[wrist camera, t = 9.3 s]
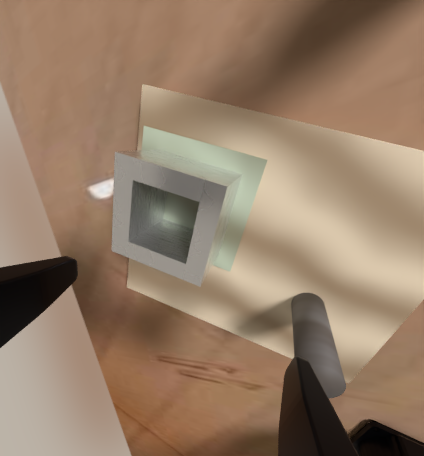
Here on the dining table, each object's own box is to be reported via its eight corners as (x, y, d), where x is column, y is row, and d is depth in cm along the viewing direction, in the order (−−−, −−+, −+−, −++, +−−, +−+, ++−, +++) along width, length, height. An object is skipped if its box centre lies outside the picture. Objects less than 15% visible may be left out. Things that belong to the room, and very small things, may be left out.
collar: (219, 253, 17) (200, 287, 13) (149, 227, 18) (111, 250, 14) (242, 174, 14) (227, 186, 10) (158, 149, 15) (115, 151, 11)
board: (344, 367, 19) (377, 483, 13) (135, 278, 23) (77, 333, 17) (504, 173, 12) (792, 212, 5) (154, 88, 16) (59, 49, 9)
